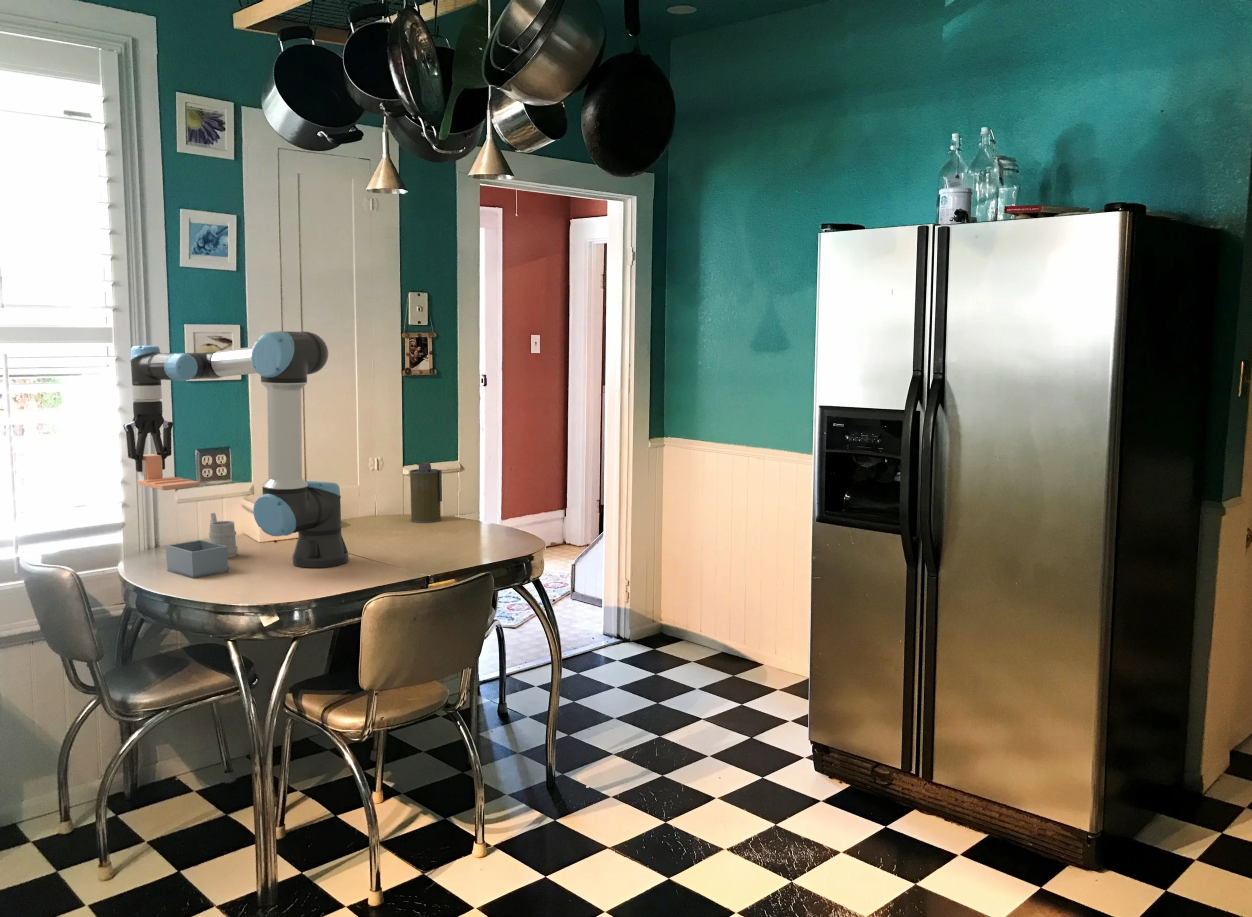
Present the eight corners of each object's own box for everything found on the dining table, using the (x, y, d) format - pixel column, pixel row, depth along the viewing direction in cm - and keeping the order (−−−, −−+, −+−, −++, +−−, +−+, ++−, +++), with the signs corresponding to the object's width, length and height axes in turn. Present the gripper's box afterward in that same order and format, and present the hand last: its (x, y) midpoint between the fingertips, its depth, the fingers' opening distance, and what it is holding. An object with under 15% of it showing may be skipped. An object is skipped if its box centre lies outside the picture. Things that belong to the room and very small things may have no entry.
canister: (406, 522, 357) (404, 464, 354) (417, 517, 367) (415, 460, 364) (436, 523, 355) (435, 465, 352) (446, 518, 365) (445, 461, 363)
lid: (199, 487, 290) (198, 458, 289) (162, 491, 282) (161, 462, 281) (165, 480, 303) (163, 453, 302) (128, 484, 294) (127, 456, 293)
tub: (228, 571, 282) (227, 546, 281) (193, 578, 274) (191, 552, 273) (202, 564, 291) (200, 539, 290) (167, 570, 283) (165, 545, 282)
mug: (217, 560, 297) (215, 518, 295) (198, 554, 305) (196, 513, 303) (242, 556, 302) (240, 515, 301) (224, 550, 310) (222, 510, 309)
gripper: (170, 398, 303) (173, 477, 306) (110, 401, 290) (114, 484, 293) (183, 399, 298) (186, 480, 301) (123, 402, 285) (127, 486, 288)
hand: (151, 482), depth 297 cm, fingers closed on lid, 4 cm apart
